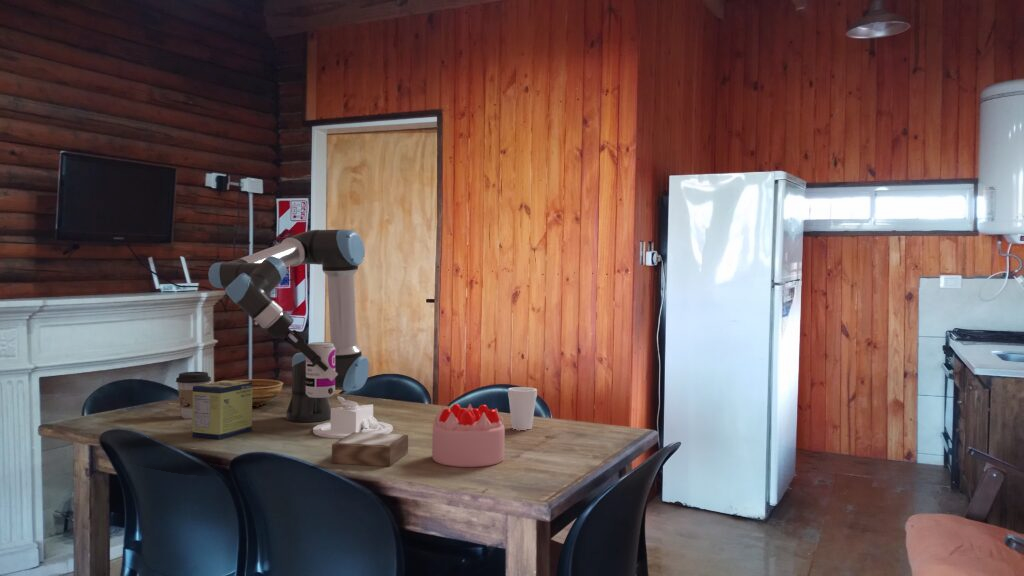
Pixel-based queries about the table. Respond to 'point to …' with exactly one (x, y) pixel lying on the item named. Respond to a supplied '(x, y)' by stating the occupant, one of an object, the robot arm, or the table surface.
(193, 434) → the protein box
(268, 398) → the wicker basket
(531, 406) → the foam cup
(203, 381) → the coffee cup
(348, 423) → the dish
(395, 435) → the walnut stand
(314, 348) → the supplement can
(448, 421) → the cake
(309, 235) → the robot arm
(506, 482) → the table surface
